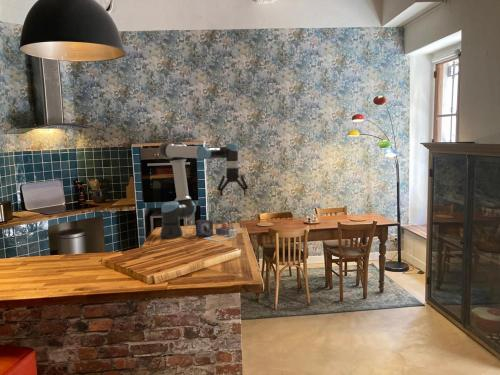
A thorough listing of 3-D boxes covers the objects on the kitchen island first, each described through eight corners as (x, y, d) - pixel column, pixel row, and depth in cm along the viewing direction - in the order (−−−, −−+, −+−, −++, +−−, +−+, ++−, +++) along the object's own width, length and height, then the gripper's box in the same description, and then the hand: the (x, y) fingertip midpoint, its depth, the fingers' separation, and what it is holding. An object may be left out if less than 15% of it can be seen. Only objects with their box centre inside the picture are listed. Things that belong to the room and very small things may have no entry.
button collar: (215, 233, 285) (215, 228, 284) (224, 231, 292) (224, 226, 291) (225, 235, 279) (225, 229, 279) (234, 233, 286) (234, 227, 285)
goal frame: (203, 239, 269) (203, 238, 269) (220, 234, 281) (220, 234, 281) (218, 241, 260) (218, 241, 260) (235, 237, 273) (235, 236, 273)
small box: (195, 236, 278) (194, 221, 277) (199, 234, 284) (198, 219, 283) (209, 237, 275) (209, 221, 274) (213, 235, 281) (213, 220, 280)
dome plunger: (220, 229, 285) (220, 222, 284) (224, 228, 288) (224, 221, 287) (225, 229, 282) (224, 223, 282) (229, 228, 285) (228, 222, 285)
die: (228, 236, 277) (228, 230, 277) (231, 234, 281) (231, 228, 280) (234, 236, 275) (234, 230, 275) (236, 235, 279) (236, 229, 279)
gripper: (215, 168, 255) (215, 202, 257) (252, 167, 263) (252, 200, 266) (211, 167, 262) (212, 200, 264) (248, 166, 270) (248, 198, 273)
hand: (232, 200), depth 265 cm, fingers open, 13 cm apart
